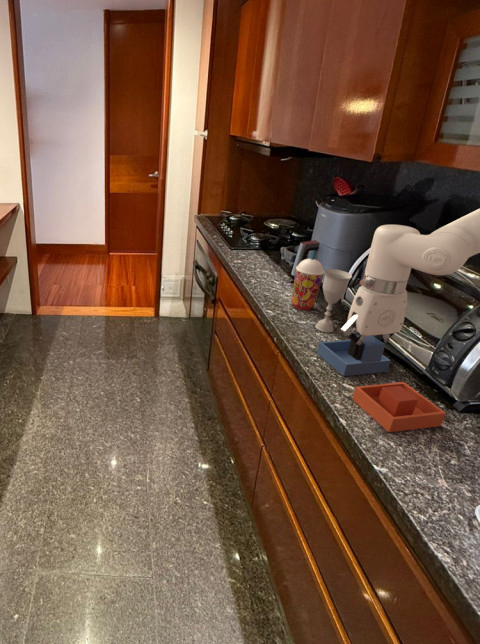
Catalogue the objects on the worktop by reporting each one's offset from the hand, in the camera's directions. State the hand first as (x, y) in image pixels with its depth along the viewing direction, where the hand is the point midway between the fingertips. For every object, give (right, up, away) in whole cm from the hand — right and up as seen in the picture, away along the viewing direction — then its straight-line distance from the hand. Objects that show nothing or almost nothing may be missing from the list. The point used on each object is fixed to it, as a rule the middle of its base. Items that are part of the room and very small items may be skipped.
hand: (364, 355), depth 89 cm
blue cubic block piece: (0, 0, 0) cm, 0 cm away
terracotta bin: (+4, -12, -4) cm, 13 cm away
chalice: (+8, +2, +29) cm, 31 cm away
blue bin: (+5, -5, +13) cm, 15 cm away
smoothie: (+8, +7, +42) cm, 44 cm away
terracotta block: (+4, -11, -4) cm, 12 cm away
